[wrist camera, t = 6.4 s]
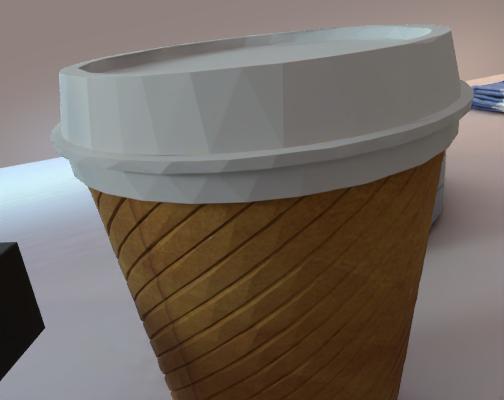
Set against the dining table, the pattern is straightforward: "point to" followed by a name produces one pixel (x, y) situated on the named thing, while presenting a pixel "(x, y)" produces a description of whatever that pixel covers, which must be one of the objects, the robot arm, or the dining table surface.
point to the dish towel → (489, 97)
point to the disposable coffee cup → (270, 200)
